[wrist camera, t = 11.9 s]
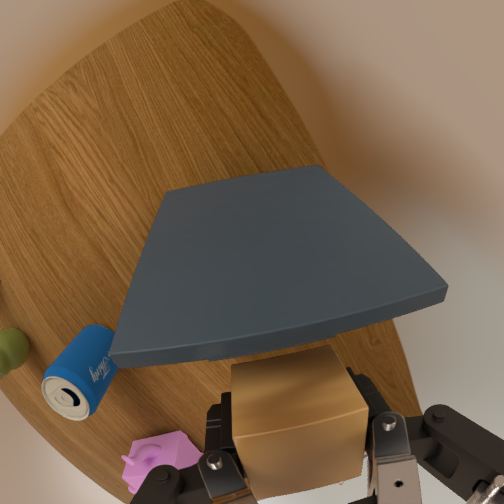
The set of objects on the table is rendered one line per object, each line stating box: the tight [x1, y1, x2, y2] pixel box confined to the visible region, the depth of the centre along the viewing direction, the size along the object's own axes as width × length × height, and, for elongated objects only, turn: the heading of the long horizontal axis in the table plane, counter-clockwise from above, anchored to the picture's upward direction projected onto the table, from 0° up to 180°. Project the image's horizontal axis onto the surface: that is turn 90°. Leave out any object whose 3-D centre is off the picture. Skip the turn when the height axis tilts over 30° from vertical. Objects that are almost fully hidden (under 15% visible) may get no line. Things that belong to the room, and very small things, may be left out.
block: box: [231, 345, 369, 499], centre depth 11 cm, size 4×4×4 cm
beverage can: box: [41, 325, 118, 421], centre depth 28 cm, size 6×6×12 cm
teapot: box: [121, 430, 203, 494], centre depth 33 cm, size 15×13×11 cm
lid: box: [109, 165, 448, 369], centre depth 15 cm, size 15×12×1 cm
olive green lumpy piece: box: [0, 327, 30, 380], centre depth 28 cm, size 6×5×10 cm
